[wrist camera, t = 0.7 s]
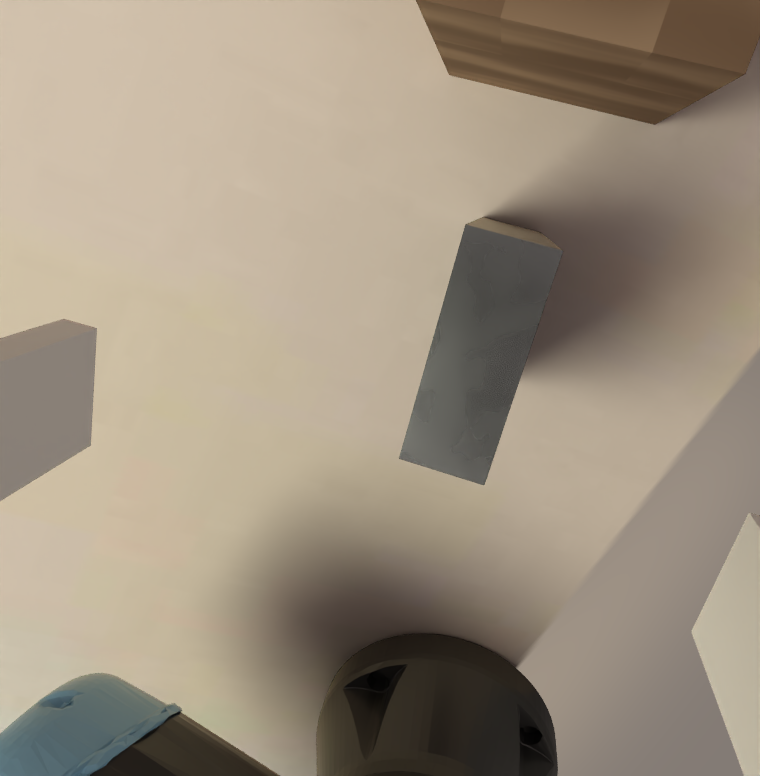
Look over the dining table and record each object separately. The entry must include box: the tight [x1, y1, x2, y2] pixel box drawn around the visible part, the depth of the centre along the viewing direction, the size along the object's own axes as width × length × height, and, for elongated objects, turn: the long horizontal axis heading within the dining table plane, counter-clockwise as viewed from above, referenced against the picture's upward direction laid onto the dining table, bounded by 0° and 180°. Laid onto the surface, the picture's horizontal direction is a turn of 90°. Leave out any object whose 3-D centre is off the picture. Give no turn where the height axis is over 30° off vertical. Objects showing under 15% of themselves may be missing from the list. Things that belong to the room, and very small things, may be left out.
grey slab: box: [399, 217, 563, 485], centre depth 27 cm, size 8×3×14 cm, turn 166°
